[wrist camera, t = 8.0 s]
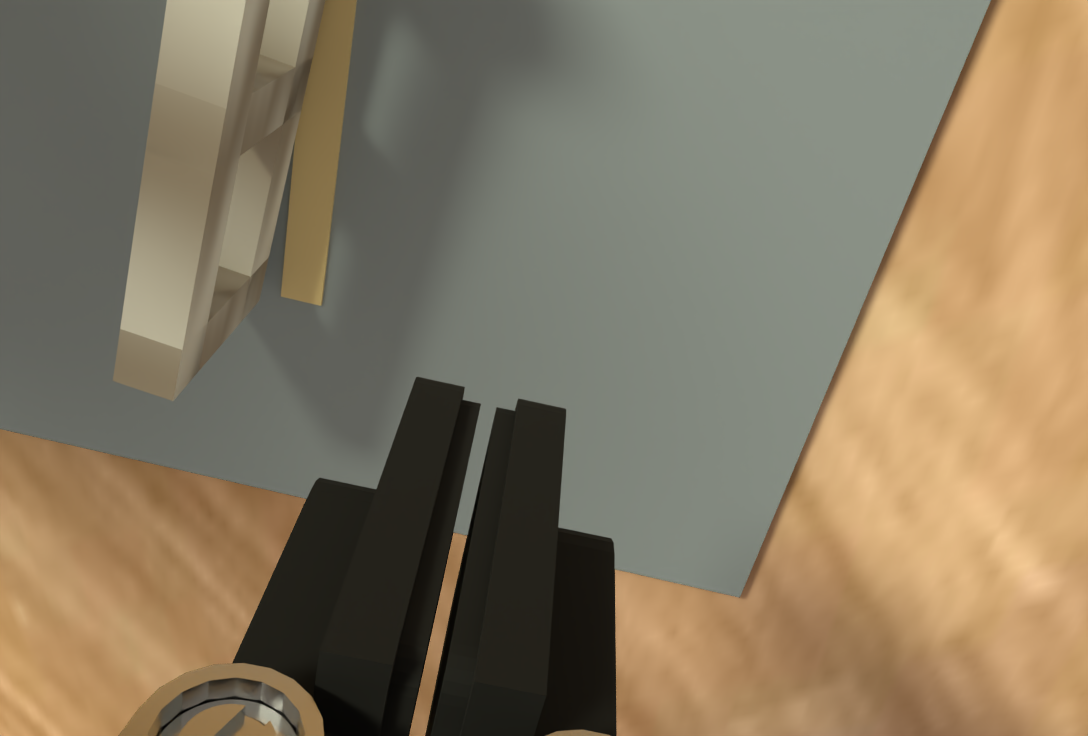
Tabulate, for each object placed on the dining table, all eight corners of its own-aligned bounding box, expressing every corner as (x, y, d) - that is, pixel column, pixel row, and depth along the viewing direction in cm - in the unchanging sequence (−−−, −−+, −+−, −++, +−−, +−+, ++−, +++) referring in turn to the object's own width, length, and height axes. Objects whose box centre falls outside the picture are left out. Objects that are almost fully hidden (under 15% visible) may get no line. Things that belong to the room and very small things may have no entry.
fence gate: (306, -221, 18) (202, -247, 13) (368, -196, 18) (284, -214, 13) (210, 283, 23) (112, 380, 18) (259, 300, 23) (173, 401, 18)
